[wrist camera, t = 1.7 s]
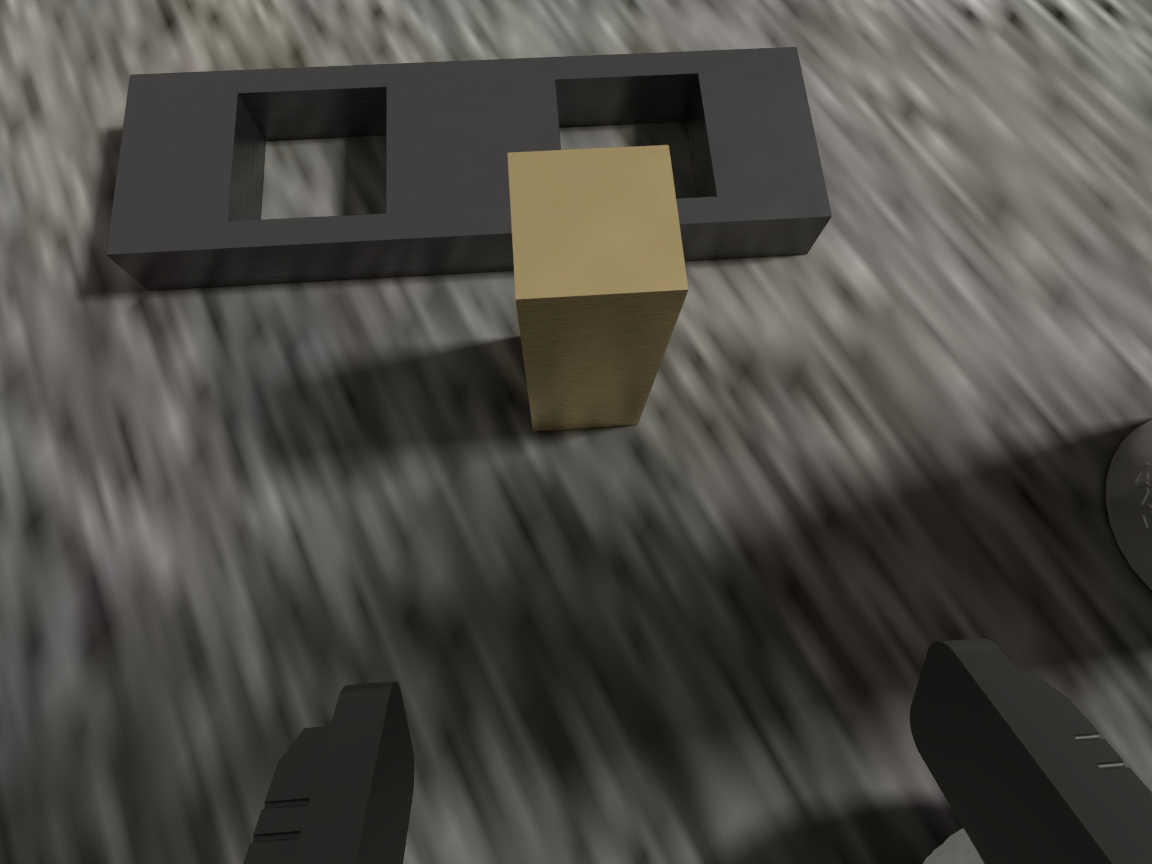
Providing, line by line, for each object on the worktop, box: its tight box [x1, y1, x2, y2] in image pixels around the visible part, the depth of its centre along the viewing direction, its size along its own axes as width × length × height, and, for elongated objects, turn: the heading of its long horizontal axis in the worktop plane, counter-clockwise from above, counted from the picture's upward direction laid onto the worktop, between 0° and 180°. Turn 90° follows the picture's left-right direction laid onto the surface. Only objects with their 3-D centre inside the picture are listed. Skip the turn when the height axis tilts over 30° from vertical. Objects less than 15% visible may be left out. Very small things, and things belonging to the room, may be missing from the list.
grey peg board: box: [106, 47, 832, 290], centre depth 31 cm, size 30×9×3 cm, turn 94°
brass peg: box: [507, 145, 688, 432], centre depth 24 cm, size 4×4×12 cm
